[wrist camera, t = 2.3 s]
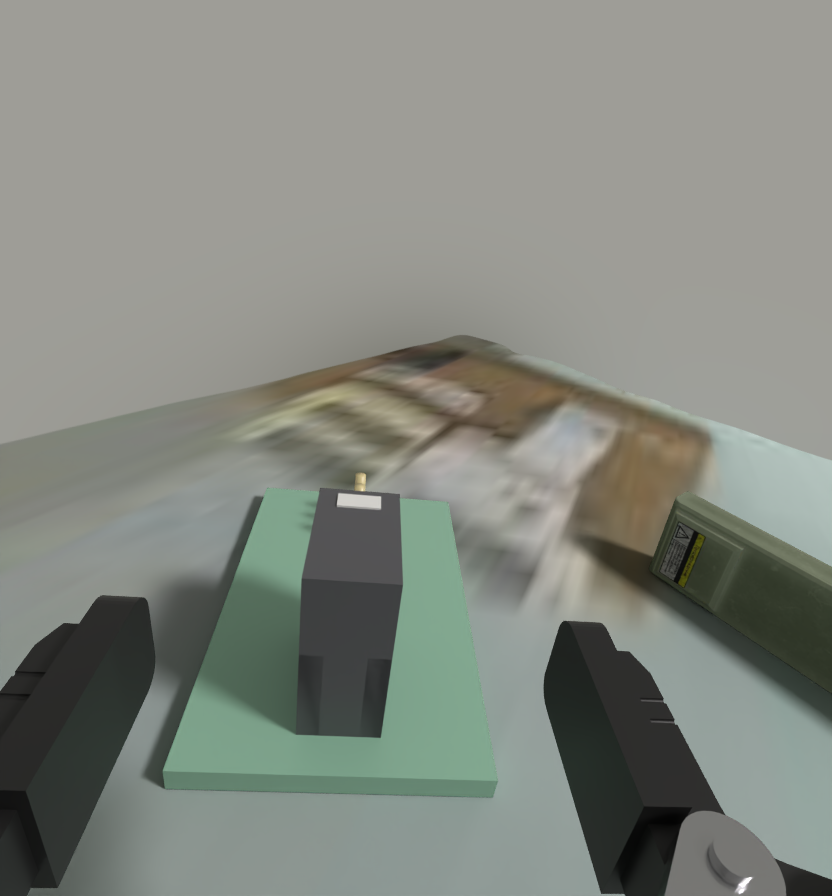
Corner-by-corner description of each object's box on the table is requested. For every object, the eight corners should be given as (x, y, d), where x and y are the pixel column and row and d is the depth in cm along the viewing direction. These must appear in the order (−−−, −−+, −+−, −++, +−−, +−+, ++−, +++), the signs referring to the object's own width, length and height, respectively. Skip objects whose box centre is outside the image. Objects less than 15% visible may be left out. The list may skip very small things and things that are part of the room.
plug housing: (380, 737, 25) (403, 582, 21) (295, 735, 24) (301, 576, 20) (382, 630, 30) (399, 492, 26) (312, 627, 30) (320, 486, 26)
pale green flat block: (492, 797, 24) (516, 721, 22) (165, 788, 23) (153, 707, 21) (445, 514, 44) (455, 458, 41) (267, 500, 42) (267, 442, 40)
